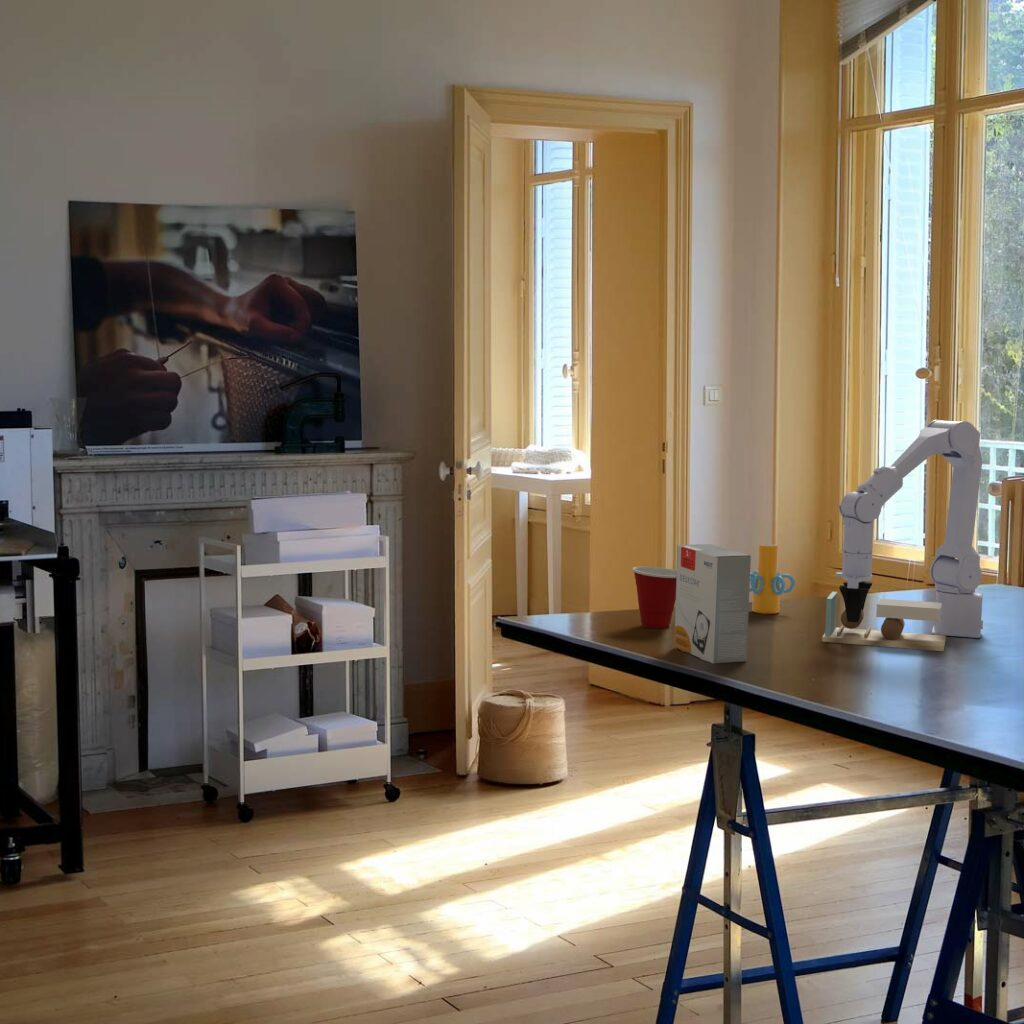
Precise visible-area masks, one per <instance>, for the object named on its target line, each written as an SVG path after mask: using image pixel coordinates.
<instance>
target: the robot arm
mask: <svg viewBox="0 0 1024 1024" xmlns="http://www.w3.org/2000/svg"><path fill="white" fill-rule="evenodd" d="M980 440H981V433H980V431H979V430H978V429H977V428H976V427H975V426H974V424H973V423H971V422H970V421H967V420H963V421H958V420H957V421H953V420H942V419H934V420H931V421H930V422H928V423H927V425H926V426H925V427H923V428H922V429H921V430H920V431H919V435H918V436H917V438H916V439H915V440H914V441H913V442H912V443H911V444H910V445H909V446H908V447H907V448H906V449H905V451H903V452H902V453H901V455H900V456H899V457H898V458H897V459H896V460H895V461H894V462H893V463H892V464H891V465H889V466H887V465H884V466H883V465H882V466H881V467H876V468H875V469H874V470H873V474H872V475H871V476H870V477H869V478H868V479H867V480H866V481H864V482H863V483H860V484H859V485H858V486H857V489H856V491H850V492H847V493H846V494H845V495H844V496H843V497H842V499H841V502H840V504H838V512H839V513H840V516H841V517H842V526H843V538H842V539H843V542H842V564H841V565H842V566H841V571H840V572H838V571H837V572H835V577H838V578H842V579H843V580H845V581H844V582H842V583H843V585H842V584H841V585H839V591H840V594H841V595H842V599H843V603H844V607H845V609H846V616H847V621H848V622H858V621H859V619H860V615H861V610H863V611H864V607H865V604H866V600H867V596H868V594H869V591H870V589H871V587H872V586H873V581H870V580H873V574H872V569H873V568H872V567H873V545H874V543H873V541H874V524H875V523H874V522H875V521H876V519H878V518H879V517H880V515H881V512H882V508H883V506H884V505H885V504H886V503H887V502H888V501H889V500H890V499H891V498H892V497H893V496H894V495H896V493H897V492H898V491H900V490H901V489H902V487H903V485H904V483H903V481H904V478H906V477H907V475H909V474H910V473H911V472H912V471H913V470H915V469H916V468H917V467H918V466H920V465H921V464H922V463H923V462H925V461H926V460H927V459H928V458H930V456H935V455H940V456H943V457H944V458H945V459H946V461H947V462H948V463H949V464H950V465H951V466H952V475H951V482H950V483H951V484H950V494H949V499H948V500H949V501H948V510H947V517H946V518H947V519H946V528H945V535H944V542H943V543H942V544H941V545H940V546H939V547H938V548H937V549H936V551H935V556H934V559H933V560H932V562H931V565H930V567H929V576H930V579H931V581H932V582H933V583H934V589H936V591H935V592H936V593H935V602H936V603H942V615H941V619H940V622H938V621H934V626H932V630H931V635H942V636H946V637H947V636H948V637H961V638H974V639H980V638H981V630H983V627H984V620H982V617H983V616H982V612H983V598H984V597H983V595H984V594H983V593H982V592H976V590H977V588H978V587H980V584H981V582H982V577H983V574H982V570H981V564H980V563H981V562H980V561H981V556H980V554H979V553H978V552H977V551H976V549H975V548H974V546H973V540H974V535H975V534H974V533H975V526H976V525H975V524H976V517H977V507H978V501H979V492H980V484H981V475H982V467H983V456H982V452H981V448H980ZM845 609H844V610H845Z"/></svg>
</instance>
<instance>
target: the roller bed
mask: <svg viewBox="0 0 1024 1024" xmlns="http://www.w3.org/2000/svg"><path fill="white" fill-rule="evenodd" d="M825 607H826V608H825V628H824V629H825V631H824V634H823V635H822V638H821V641H822V643H823V642H824V643H835V644H848V645H858V646H859V645H860V646H861V645H862V646H872V647H873V646H875V647H885V648H886V647H887V648H899V649H910V650H911V649H912V650H913V649H914V650H920V651H921V650H924V651H935V652H936V651H937V652H944V650H945V645H946V639H947V636H946V635H933V634H926V633H915V632H912V633H911V632H904V628H905V625H906V624H905V619H898V618H884V619H883V623H882V624H881V627H880V630H875V629H872V628H871V627H867V629H865V628H864V629H863V628H854V629H848V628H846V627H845V626H844V625H840V627H838V626H837V609H838V608H837V607H838V591H831V593H830V594H829V595H828V596H827V598H826V605H825Z"/></svg>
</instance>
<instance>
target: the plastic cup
mask: <svg viewBox="0 0 1024 1024" xmlns="http://www.w3.org/2000/svg"><path fill="white" fill-rule="evenodd" d="M632 571H633V573H634V574H633V575H634V579H635V586H636V592H637V602H638V611H639V615H640V623H641V626H642V627H643V628H646V629H657V628H664V629H668V628H670V625H671V622H672V617H673V612H674V610H675V604H676V575H677V569H676V570H675V569H670V568H665V567H656V566H646V565H645V566H634V567H632ZM667 627H668V628H667Z"/></svg>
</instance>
